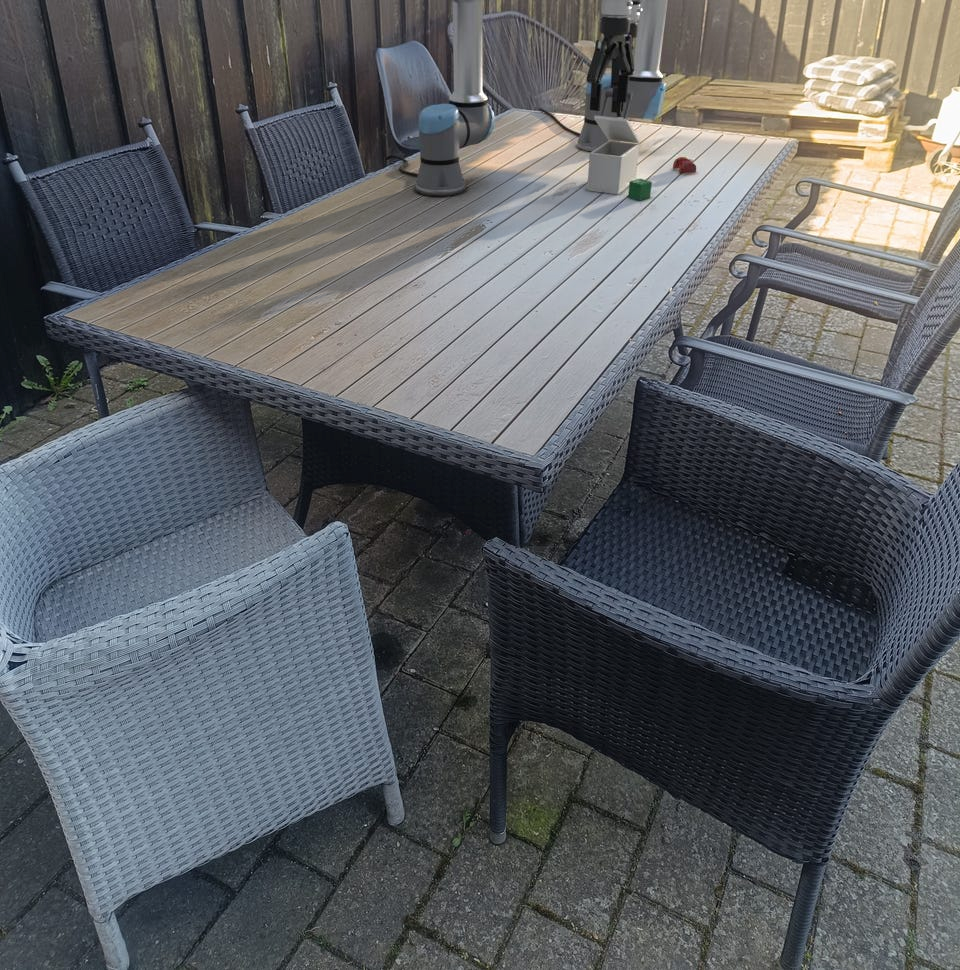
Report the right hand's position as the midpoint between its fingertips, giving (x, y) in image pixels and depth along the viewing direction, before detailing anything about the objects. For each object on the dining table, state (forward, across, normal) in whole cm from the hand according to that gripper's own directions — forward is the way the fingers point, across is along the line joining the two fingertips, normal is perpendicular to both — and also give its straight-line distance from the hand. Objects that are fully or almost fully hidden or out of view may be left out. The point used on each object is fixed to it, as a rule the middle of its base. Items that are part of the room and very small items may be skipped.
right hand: (617, 111), depth 249 cm
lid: (+6, +2, 0) cm, 6 cm away
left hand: (-6, -24, -5) cm, 26 cm away
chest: (+22, +1, 0) cm, 22 cm away
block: (+22, -7, -11) cm, 26 cm away
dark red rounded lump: (+21, +26, -16) cm, 38 cm away
